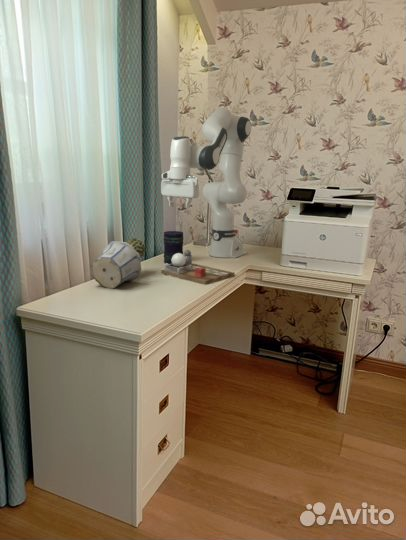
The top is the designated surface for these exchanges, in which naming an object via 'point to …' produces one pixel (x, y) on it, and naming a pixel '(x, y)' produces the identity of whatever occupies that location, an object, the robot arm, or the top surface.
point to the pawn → (188, 257)
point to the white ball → (178, 260)
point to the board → (201, 279)
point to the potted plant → (118, 263)
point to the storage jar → (172, 245)
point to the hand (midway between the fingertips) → (179, 207)
